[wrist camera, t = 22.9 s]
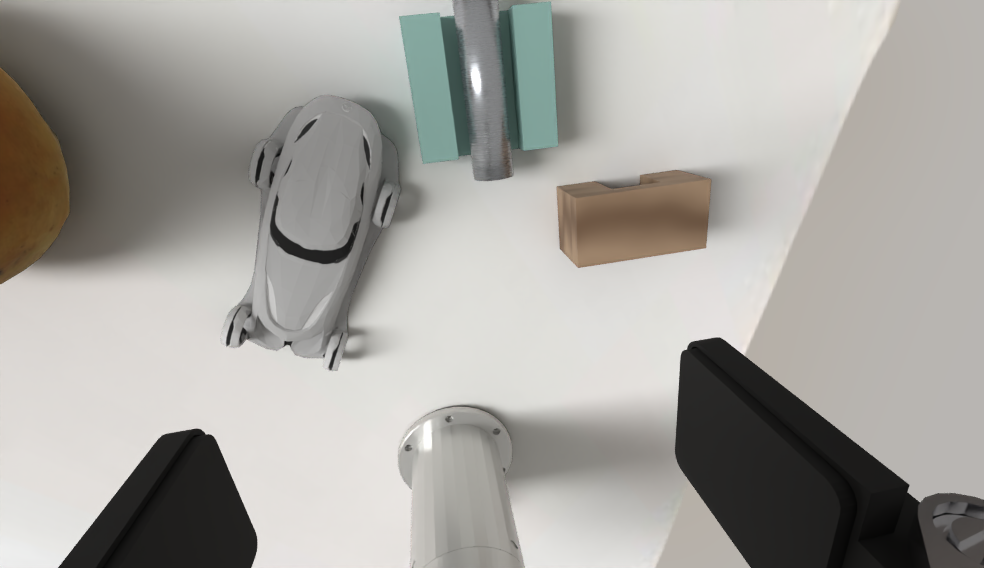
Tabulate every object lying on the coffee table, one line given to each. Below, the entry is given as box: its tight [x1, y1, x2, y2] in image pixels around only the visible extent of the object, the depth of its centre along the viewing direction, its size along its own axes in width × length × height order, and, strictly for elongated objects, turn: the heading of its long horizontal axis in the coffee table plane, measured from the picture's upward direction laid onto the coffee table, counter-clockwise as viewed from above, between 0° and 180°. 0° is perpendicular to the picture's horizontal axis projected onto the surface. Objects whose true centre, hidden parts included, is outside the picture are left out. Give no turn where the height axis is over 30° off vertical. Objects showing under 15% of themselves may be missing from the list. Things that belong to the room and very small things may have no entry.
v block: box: [399, 2, 558, 164], centre depth 36 cm, size 10×11×4 cm
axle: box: [452, 0, 513, 181], centre depth 34 cm, size 14×3×3 cm, turn 6°
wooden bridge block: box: [557, 170, 711, 268], centre depth 41 cm, size 6×12×6 cm, turn 96°
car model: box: [220, 95, 401, 371], centre depth 38 cm, size 11×24×5 cm, turn 159°
